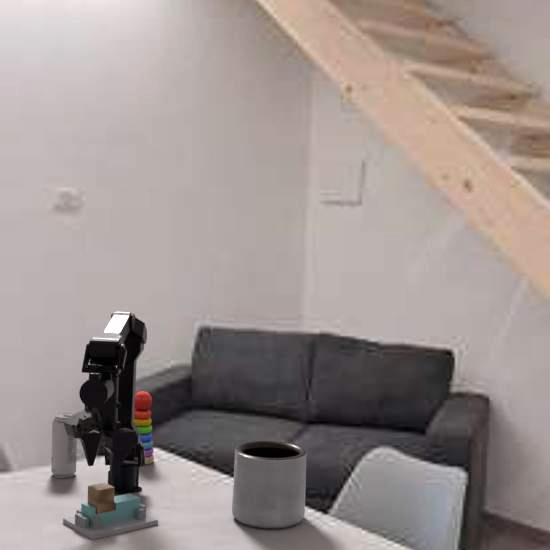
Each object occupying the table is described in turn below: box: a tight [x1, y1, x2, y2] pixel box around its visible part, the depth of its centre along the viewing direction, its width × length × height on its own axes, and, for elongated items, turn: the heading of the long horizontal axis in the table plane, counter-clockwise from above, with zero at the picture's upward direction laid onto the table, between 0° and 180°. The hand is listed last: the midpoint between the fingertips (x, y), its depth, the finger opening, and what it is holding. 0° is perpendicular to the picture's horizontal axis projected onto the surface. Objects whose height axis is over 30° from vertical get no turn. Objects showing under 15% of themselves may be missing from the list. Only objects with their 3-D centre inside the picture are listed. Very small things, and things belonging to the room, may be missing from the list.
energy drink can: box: [50, 412, 78, 479], centre depth 235 cm, size 6×6×15 cm
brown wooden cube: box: [87, 482, 115, 514], centre depth 201 cm, size 4×4×5 cm
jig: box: [62, 502, 159, 541], centre depth 203 cm, size 16×12×3 cm
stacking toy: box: [134, 390, 155, 466], centre depth 250 cm, size 8×8×19 cm
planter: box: [231, 440, 308, 530], centre depth 210 cm, size 16×16×16 cm
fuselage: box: [80, 492, 141, 527], centre depth 203 cm, size 12×4×4 cm, turn 132°
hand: (101, 471), depth 200 cm, fingers open, 9 cm apart
